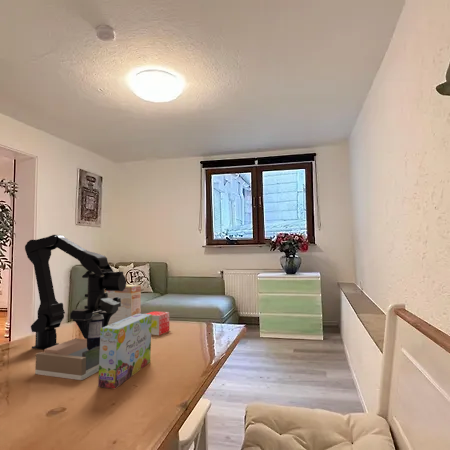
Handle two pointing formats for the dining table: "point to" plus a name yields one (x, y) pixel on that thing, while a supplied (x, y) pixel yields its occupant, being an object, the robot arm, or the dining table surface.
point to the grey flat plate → (92, 357)
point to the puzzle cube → (159, 322)
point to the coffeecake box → (126, 302)
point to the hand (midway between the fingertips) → (95, 335)
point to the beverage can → (95, 331)
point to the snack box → (124, 349)
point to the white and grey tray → (63, 366)
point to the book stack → (69, 347)
